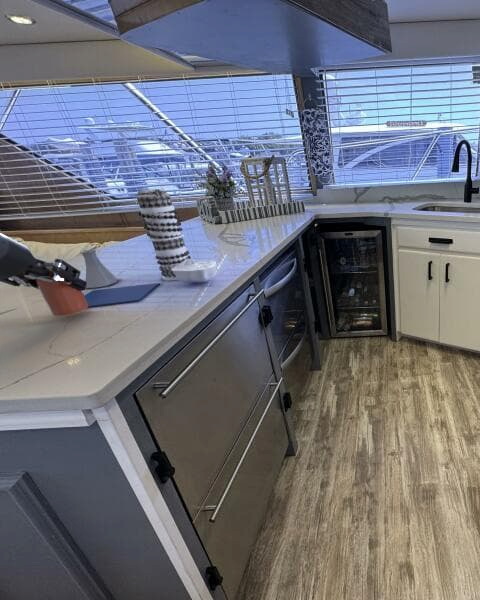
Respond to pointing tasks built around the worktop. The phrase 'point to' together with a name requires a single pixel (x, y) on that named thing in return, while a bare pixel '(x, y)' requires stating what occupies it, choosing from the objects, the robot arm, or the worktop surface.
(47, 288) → the cup
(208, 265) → the white rounded container
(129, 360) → the worktop surface
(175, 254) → the decorative candle
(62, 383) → the worktop surface
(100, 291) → the cloth
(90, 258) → the flask
